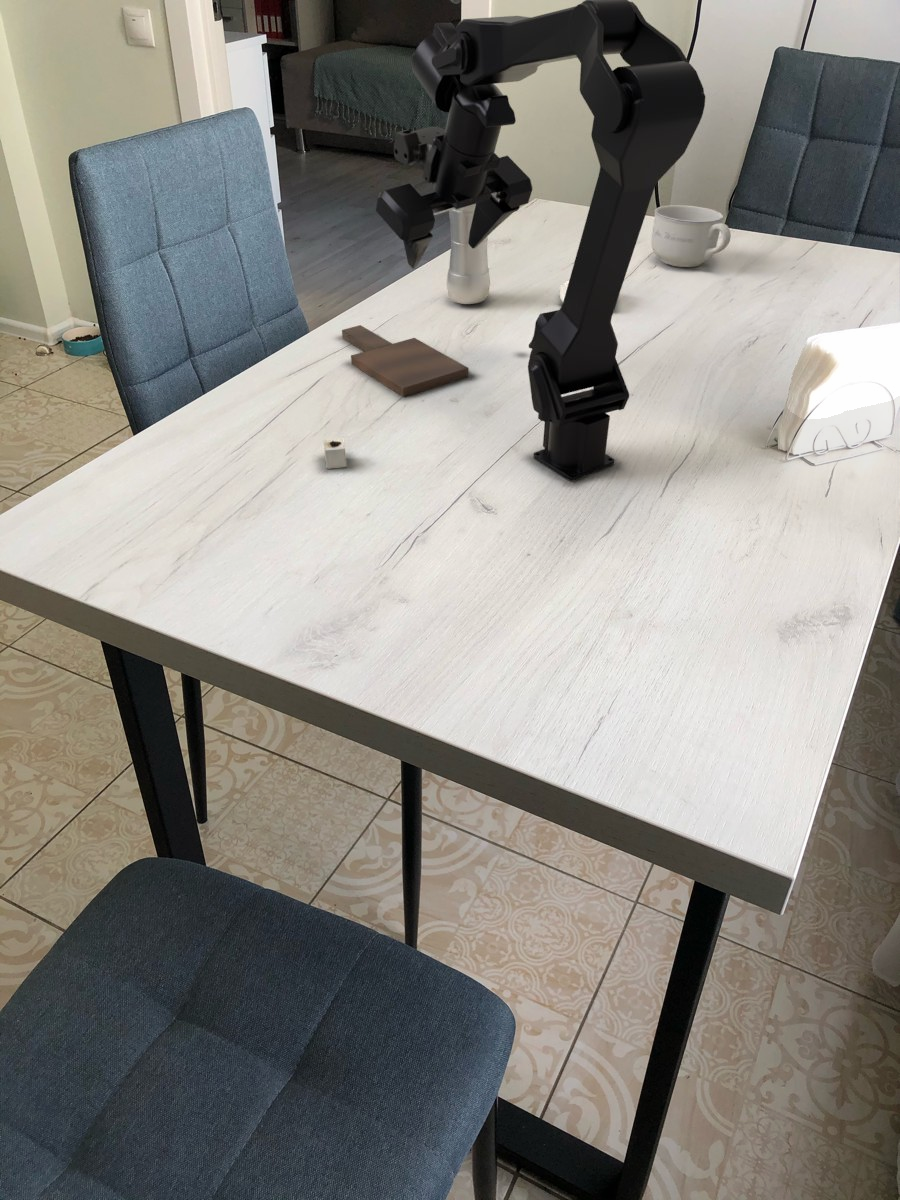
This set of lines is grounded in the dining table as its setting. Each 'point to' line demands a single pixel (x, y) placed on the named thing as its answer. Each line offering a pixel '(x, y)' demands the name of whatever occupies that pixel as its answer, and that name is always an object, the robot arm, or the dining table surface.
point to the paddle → (402, 362)
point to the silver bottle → (466, 261)
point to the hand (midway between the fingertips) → (442, 255)
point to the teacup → (687, 234)
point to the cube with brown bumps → (335, 454)
